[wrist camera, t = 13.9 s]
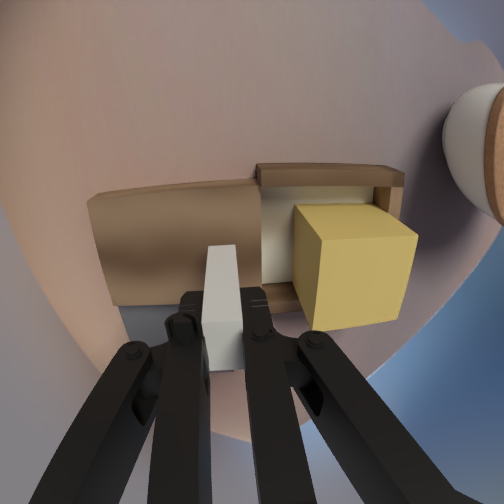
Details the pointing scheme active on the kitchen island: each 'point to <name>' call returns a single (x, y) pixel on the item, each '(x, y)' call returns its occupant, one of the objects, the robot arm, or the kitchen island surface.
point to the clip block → (350, 264)
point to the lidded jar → (478, 147)
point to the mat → (149, 323)
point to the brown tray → (223, 228)
